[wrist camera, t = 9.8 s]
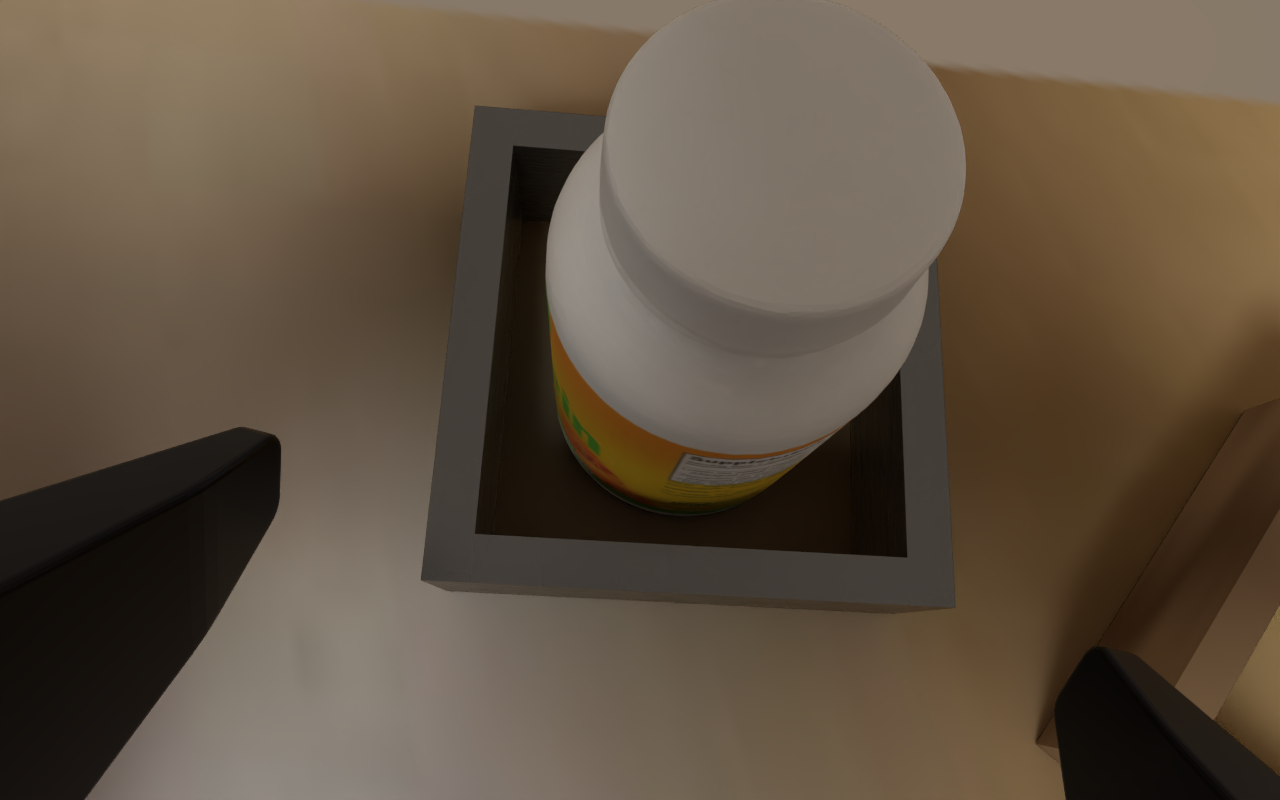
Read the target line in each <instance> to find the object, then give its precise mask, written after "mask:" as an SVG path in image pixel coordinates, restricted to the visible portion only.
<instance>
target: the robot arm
mask: <svg viewBox="0 0 1280 800" xmlns="http://www.w3.org/2000/svg"><path fill="white" fill-rule="evenodd" d="M280 473H281V445H280V441H279V439H278V438H277V437H276V436H275V435H273V434H269V433H266V432H262V431H258V430H254V429H250V428H246V427H237V428H234V429H230V430H227V431H224V432H221V433H217V434H214V435H211V436H208V437H205V438H201V439H198V440H195V441H192V442H189V443H185V444H182V445H179V446H176V447H172V448H169V449H166V450H163V451H160V452H156V453H153V454H150V455H147V456H144V457H140V458H137V459H134V460H131V461H127V462H124V463H121V464H118V465H115V466H111V467H108V468H105V469H102V470H98V471H95V472H92V473H89V474H86V475H82V476H79V477H76V478H73V479H69V480H66V481H63V482H60V483H57V484H53V485H50V486H47V487H44V488H40V489H37V490H34V491H31V492H28V493H24V494H21V495H18V496H15V497H11V498H8V499H5V500H2V501H0V800H85V798H86V797H87V796H88V794H89V793H90V792H91V790H92V789H93V788H94V786H95V785H96V784H97V782H98V781H99V780H100V778H101V777H102V775H103V774H104V773H105V771H106V770H107V769H108V767H109V766H110V765H111V763H112V762H113V761H114V759H115V758H116V757H117V755H118V754H119V752H120V751H121V750H122V748H123V747H124V746H125V744H126V743H127V742H128V740H129V739H130V738H131V736H132V735H133V734H134V732H135V731H136V730H137V728H138V727H139V725H140V724H141V723H142V721H143V720H144V719H145V717H146V716H147V715H148V713H149V712H150V711H151V709H152V708H153V707H154V705H155V704H156V703H157V701H158V700H159V698H160V697H161V696H162V694H163V693H164V692H165V690H166V689H167V688H168V686H169V685H170V684H171V682H172V681H173V680H174V678H175V677H176V676H177V674H178V673H179V671H180V670H181V669H182V667H183V666H184V665H185V663H186V662H187V661H188V659H189V658H190V657H191V655H192V654H193V653H194V651H195V650H196V648H197V647H198V645H199V644H200V643H201V641H202V640H203V638H204V637H205V635H206V634H207V632H208V631H209V629H210V628H211V626H212V624H213V623H214V621H215V619H216V618H217V616H218V614H219V613H220V611H221V609H222V608H223V606H224V604H225V602H226V601H227V599H228V597H229V595H230V594H231V592H232V590H233V588H234V587H235V585H236V583H237V582H238V580H239V578H240V576H241V575H242V573H243V571H244V569H245V568H246V566H247V564H248V562H249V561H250V559H251V557H252V555H253V554H254V552H255V550H256V549H257V547H258V545H259V543H260V542H261V540H262V538H263V536H264V535H265V533H266V531H267V529H268V528H269V526H270V524H271V523H272V521H273V519H274V517H275V514H276V512H277V509H278V505H279V500H280ZM1054 722H1055V729H1056V736H1057V743H1058V750H1059V756H1060V763H1061V770H1062V777H1063V784H1064V791H1065V798H1066V800H1280V776H1279V775H1277V774H1276V773H1275V772H1274V771H1273V770H1272V769H1270V768H1269V767H1268V766H1267V765H1266V764H1264V763H1263V762H1262V761H1261V760H1260V759H1259V758H1257V757H1256V756H1255V755H1254V754H1253V753H1252V752H1250V751H1249V750H1248V749H1247V748H1246V747H1244V746H1243V745H1242V744H1241V743H1240V742H1239V741H1237V740H1236V739H1235V738H1234V737H1233V736H1232V735H1230V734H1229V733H1228V732H1227V731H1226V730H1224V729H1223V728H1222V727H1221V726H1220V725H1219V724H1217V723H1216V722H1215V721H1214V720H1213V719H1211V718H1210V717H1209V716H1208V715H1207V714H1206V713H1204V712H1203V711H1202V710H1201V709H1200V708H1199V707H1197V706H1196V705H1195V704H1194V703H1193V702H1191V701H1190V700H1189V699H1188V698H1187V697H1186V696H1184V695H1183V694H1182V693H1181V692H1180V691H1179V690H1177V689H1176V688H1175V687H1174V686H1173V685H1171V684H1170V683H1169V682H1168V681H1167V680H1166V679H1164V678H1163V677H1162V676H1161V675H1160V674H1158V673H1157V672H1156V671H1155V670H1154V669H1153V668H1151V667H1150V666H1149V665H1148V664H1147V663H1146V662H1144V661H1143V660H1142V659H1141V658H1140V657H1138V656H1137V655H1135V654H1133V653H1130V652H1126V651H1122V650H1118V649H1114V648H1110V647H1106V646H1102V645H1098V646H1094V647H1092V648H1090V649H1089V650H1088V651H1087V652H1086V653H1085V655H1084V656H1083V658H1082V659H1081V661H1080V662H1079V664H1078V665H1077V667H1076V669H1075V670H1074V672H1073V673H1072V675H1071V676H1070V678H1069V679H1068V681H1067V683H1066V684H1065V686H1064V687H1063V689H1062V690H1061V692H1060V693H1059V695H1058V698H1057V700H1056V703H1055V708H1054Z"/></svg>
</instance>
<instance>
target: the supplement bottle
mask: <svg viewBox="0 0 1280 800" xmlns="http://www.w3.org/2000/svg"><path fill="white" fill-rule="evenodd" d="M965 181H966V158H965V146H964V141H963V136H962V131H961V127H960V124H959V121H958V119H957V116H956V113H955V111H954V108H953V106H952V103H951V101H950V99H949V97H948V95H947V93H946V92H945V90H944V88H943V87H942V85H941V83H940V82H939V80H938V78H937V77H936V75H935V74H934V73H933V72H932V70H931V69H930V68H929V66H928V65H927V64H926V63H925V62H924V61H923V60H922V58H921V57H920V56H919V55H918V54H917V53H916V52H915V51H914V50H913V49H912V48H911V47H910V46H908V45H907V44H906V43H905V42H904V41H902V40H901V39H900V38H899V37H898V36H897V35H895V34H894V33H893V32H891V31H890V30H888V29H887V28H885V27H884V26H882V25H881V24H879V23H877V22H876V21H874V20H872V19H871V18H869V17H867V16H865V15H863V14H861V13H859V12H857V11H855V10H852V9H850V8H848V7H846V6H843V5H841V4H838V3H834V2H830V1H826V0H715V1H711V2H708V3H705V4H702V5H700V6H698V7H695V8H693V9H691V10H689V11H687V12H685V13H683V14H682V15H680V16H678V17H676V18H675V19H673V20H672V21H670V22H669V23H668V24H667V25H665V26H663V27H662V28H661V29H659V30H658V31H657V32H656V33H655V34H653V35H652V36H651V37H650V38H649V39H648V40H647V41H646V42H645V44H644V45H643V46H642V47H641V48H640V49H639V50H638V51H637V53H636V54H635V55H634V56H633V58H632V59H631V60H630V62H629V63H628V65H627V66H626V68H625V70H624V71H623V73H622V75H621V77H620V78H619V80H618V82H617V85H616V87H615V90H614V92H613V95H612V97H611V100H610V103H609V106H608V110H607V115H606V120H605V126H604V133H602V134H601V135H600V136H599V137H598V138H597V139H596V140H595V141H594V142H593V143H592V144H591V145H590V147H589V148H588V149H587V150H586V151H585V153H584V154H583V155H582V156H581V158H580V159H579V161H578V162H577V164H576V165H575V166H574V168H573V170H572V171H571V173H570V175H569V176H568V178H567V180H566V182H565V184H564V186H563V188H562V190H561V192H560V195H559V197H558V199H557V202H556V204H555V207H554V210H553V214H552V218H551V223H550V227H549V232H548V239H547V253H546V274H545V278H546V294H547V304H548V317H549V328H550V339H551V352H552V367H553V380H554V394H555V402H556V409H557V414H558V418H559V422H560V425H561V429H562V432H563V434H564V437H565V439H566V441H567V444H568V446H569V447H570V449H571V451H572V453H573V454H574V456H575V457H576V459H577V460H578V462H579V463H580V465H581V466H582V467H583V468H584V470H585V471H586V472H587V473H588V474H589V475H590V476H591V477H592V478H593V479H594V480H595V481H596V482H597V483H598V484H599V485H600V486H601V487H603V488H604V489H605V490H607V491H608V492H609V493H611V494H612V495H614V496H616V497H617V498H619V499H621V500H622V501H624V502H626V503H629V504H631V505H633V506H635V507H638V508H641V509H643V510H647V511H650V512H654V513H659V514H665V515H674V516H696V515H707V514H712V513H716V512H721V511H724V510H727V509H730V508H733V507H735V506H737V505H740V504H742V503H744V502H746V501H748V500H749V499H751V498H753V497H755V496H757V495H758V494H759V493H761V492H762V491H764V490H765V489H767V488H768V487H769V486H771V485H772V484H773V483H774V482H776V481H777V480H778V479H779V478H780V477H782V476H783V475H784V474H786V473H787V472H788V471H789V470H791V469H792V468H793V467H794V466H796V465H797V464H798V463H799V462H801V461H802V460H803V459H804V458H805V457H807V456H808V455H809V454H810V453H811V452H813V451H814V450H815V449H816V448H818V447H819V446H820V445H821V444H822V443H824V442H825V441H826V440H827V439H829V438H830V437H831V436H832V435H833V434H835V433H836V432H837V431H838V430H840V429H841V428H842V427H843V426H845V425H846V424H847V423H848V422H849V421H851V420H852V419H853V418H855V417H856V416H857V415H858V414H859V413H861V412H862V411H863V410H864V409H865V408H866V407H868V406H869V405H870V404H871V403H872V402H873V401H874V400H875V399H876V398H877V397H878V395H879V394H880V393H881V392H882V391H883V390H884V389H885V387H886V386H887V385H888V384H889V383H890V382H891V381H892V380H893V378H894V377H895V375H896V374H897V372H898V371H899V369H900V368H901V366H902V365H903V363H904V362H905V360H906V358H907V357H908V355H909V353H910V351H911V349H912V347H913V345H914V342H915V340H916V337H917V335H918V332H919V330H920V327H921V324H922V320H923V316H924V312H925V307H926V301H927V294H928V276H929V267H930V265H931V264H932V263H933V262H934V260H935V259H936V258H937V256H938V255H939V253H940V252H941V250H942V249H943V248H944V246H945V244H946V242H947V240H948V239H949V237H950V235H951V233H952V231H953V229H954V227H955V224H956V221H957V218H958V215H959V213H960V210H961V206H962V201H963V197H964V189H965Z"/></svg>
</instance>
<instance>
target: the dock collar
mask: <svg viewBox="0 0 1280 800" xmlns="http://www.w3.org/2000/svg"><path fill="white" fill-rule="evenodd" d="M605 120H606V116H594V115H582V114H570V113H558V112H545V111H533V110H521V109H509V108H497V107H485V106H475V110H474V119H473V128H472V137H471V145H470V154H469V163H468V172H467V180H466V189H465V198H464V207H463V216H462V224H461V233H460V242H459V251H458V259H457V268H456V277H455V286H454V294H453V303H452V312H451V321H450V329H449V338H448V347H447V356H446V364H445V373H444V382H443V391H442V399H441V408H440V417H439V426H438V434H437V443H436V452H435V461H434V469H433V478H432V487H431V496H430V504H429V513H428V522H427V531H426V540H425V548H424V557H423V566H422V575H421V580H422V581H424V582H427V583H429V584H432V585H434V586H436V587H439V588H441V589H444V590H446V591H459V592H479V593H498V594H518V595H537V596H557V597H577V598H596V599H616V600H635V601H655V602H674V603H694V604H713V605H733V606H753V607H772V608H792V609H811V610H831V611H850V612H870V613H889V614H895V613H906V612H916V611H927V610H937V609H948V608H955V590H954V571H953V553H952V534H951V515H950V496H949V477H948V459H947V440H946V421H945V402H944V383H943V364H942V346H941V327H940V308H939V289H938V270H937V258H936V259H935V260H934V262H933V263H932V264H931V265H930V267H929V276H928V294H927V301H926V307H925V312H924V316H923V320H922V324H921V327H920V330H919V332H918V335H917V337H916V340H915V342H914V345H913V347H912V349H911V351H910V353H909V355H908V357H907V358H906V360H905V362H904V363H903V365H902V366H901V368H900V369H899V371H898V372H897V374H896V375H895V377H894V378H893V380H892V381H891V382H890V383H889V384H888V385H887V386H886V387H885V389H884V390H883V391H882V392H881V393H880V394H879V395H878V397H877V398H876V399H875V400H874V401H873V402H872V403H871V404H870V405H869V406H868V407H866V408H865V409H864V410H863V411H862V412H861V413H859V414H858V415H857V416H856V417H855V418H853V419H852V420H851V421H850V424H851V470H852V516H853V555H849V554H831V553H813V552H794V551H776V550H758V549H740V548H721V547H703V546H685V545H667V544H649V543H630V542H612V541H594V540H576V539H557V538H539V537H521V536H503V535H493V532H494V521H495V511H496V500H497V489H498V478H499V467H500V457H501V446H502V435H503V424H504V414H505V403H506V392H507V381H508V370H509V360H510V349H511V338H512V327H513V317H514V306H515V295H516V284H517V274H518V263H519V252H520V241H521V230H522V220H534V221H547V222H551V218H552V214H553V210H554V207H555V204H556V202H557V199H558V197H559V195H560V192H561V190H562V188H563V186H564V184H565V182H566V180H567V178H568V176H569V175H570V173H571V171H572V170H573V168H574V166H575V165H576V164H577V162H578V161H579V159H580V158H581V156H582V155H583V154H584V153H585V151H586V150H587V149H588V148H589V147H590V145H591V144H592V143H593V142H594V141H595V140H596V139H597V138H598V137H599V136H600V135H601V134H602V133H604V126H605Z"/></svg>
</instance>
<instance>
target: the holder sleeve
mask: <svg viewBox="0 0 1280 800" xmlns="http://www.w3.org/2000/svg"><path fill="white" fill-rule="evenodd" d="M1279 605H1280V399H1277V400H1274V401H1271V402H1268V403H1266V404H1263V405H1260V406H1257V407H1254V408H1251V409H1248V410H1246V411H1244V413H1243V414H1242V416H1241V417H1240V419H1239V421H1238V422H1237V424H1236V425H1235V427H1234V429H1233V430H1232V432H1231V433H1230V435H1229V437H1228V438H1227V440H1226V441H1225V443H1224V445H1223V446H1222V448H1221V449H1220V451H1219V452H1218V454H1217V456H1216V457H1215V459H1214V460H1213V462H1212V464H1211V465H1210V467H1209V468H1208V470H1207V472H1206V473H1205V475H1204V476H1203V478H1202V480H1201V481H1200V483H1199V484H1198V486H1197V488H1196V489H1195V491H1194V492H1193V494H1192V496H1191V497H1190V499H1189V500H1188V502H1187V503H1186V505H1185V507H1184V508H1183V510H1182V511H1181V513H1180V515H1179V516H1178V518H1177V519H1176V521H1175V523H1174V524H1173V526H1172V527H1171V529H1170V531H1169V532H1168V534H1167V535H1166V537H1165V539H1164V540H1163V542H1162V543H1161V545H1160V547H1159V548H1158V550H1157V551H1156V553H1155V555H1154V556H1153V558H1152V559H1151V561H1150V562H1149V564H1148V566H1147V567H1146V569H1145V570H1144V572H1143V574H1142V575H1141V577H1140V578H1139V580H1138V582H1137V583H1136V585H1135V586H1134V588H1133V590H1132V591H1131V593H1130V594H1129V596H1128V598H1127V599H1126V601H1125V602H1124V604H1123V606H1122V607H1121V609H1120V610H1119V612H1118V614H1117V615H1116V617H1115V618H1114V620H1113V621H1112V623H1111V625H1110V626H1109V628H1108V629H1107V631H1106V633H1105V634H1104V636H1103V637H1102V639H1101V641H1100V642H1099V644H1098V645H1102V646H1106V647H1110V648H1114V649H1118V650H1122V651H1126V652H1130V653H1133V654H1135V655H1137V656H1138V657H1140V658H1141V659H1142V660H1143V661H1144V662H1146V663H1147V664H1148V665H1149V666H1150V667H1151V668H1153V669H1154V670H1155V671H1156V672H1157V673H1158V674H1160V675H1161V676H1162V677H1163V678H1164V679H1166V680H1167V681H1168V682H1169V683H1170V684H1171V685H1173V686H1174V687H1175V688H1176V689H1177V690H1179V691H1180V692H1181V693H1182V694H1183V695H1184V696H1186V697H1187V698H1188V699H1189V700H1190V701H1191V702H1193V703H1194V704H1195V705H1196V706H1197V707H1199V708H1200V709H1201V710H1202V711H1203V712H1204V713H1206V714H1207V715H1208V716H1209V717H1210V718H1211V719H1213V720H1215V718H1216V716H1217V714H1218V712H1219V711H1220V709H1221V707H1222V705H1223V704H1224V702H1225V700H1226V698H1227V697H1228V695H1229V693H1230V691H1231V690H1232V688H1233V686H1234V684H1235V683H1236V681H1237V679H1238V677H1239V676H1240V674H1241V672H1242V670H1243V669H1244V667H1245V665H1246V663H1247V662H1248V660H1249V658H1250V656H1251V654H1252V653H1253V651H1254V649H1255V647H1256V646H1257V644H1258V642H1259V640H1260V639H1261V637H1262V635H1263V633H1264V632H1265V630H1266V628H1267V626H1268V625H1269V623H1270V621H1271V619H1272V618H1273V616H1274V614H1275V612H1276V611H1277V609H1278V607H1279ZM1098 645H1097V646H1098ZM1036 744H1037V745H1038V746H1039V747H1040V748H1042V749H1043V750H1044V751H1045V752H1046V753H1048V754H1049V755H1050V756H1051V757H1053V758H1054V759H1055V760H1056V761H1057V762H1059V763H1060V756H1059V750H1058V743H1057V736H1056V729H1055V722H1054V716H1053V717H1052V719H1051V720H1050V722H1049V724H1048V725H1047V727H1046V728H1045V730H1044V731H1043V733H1042V735H1041V736H1040V738H1039V739H1038V741H1037V743H1036ZM1060 764H1061V763H1060Z"/></svg>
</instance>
